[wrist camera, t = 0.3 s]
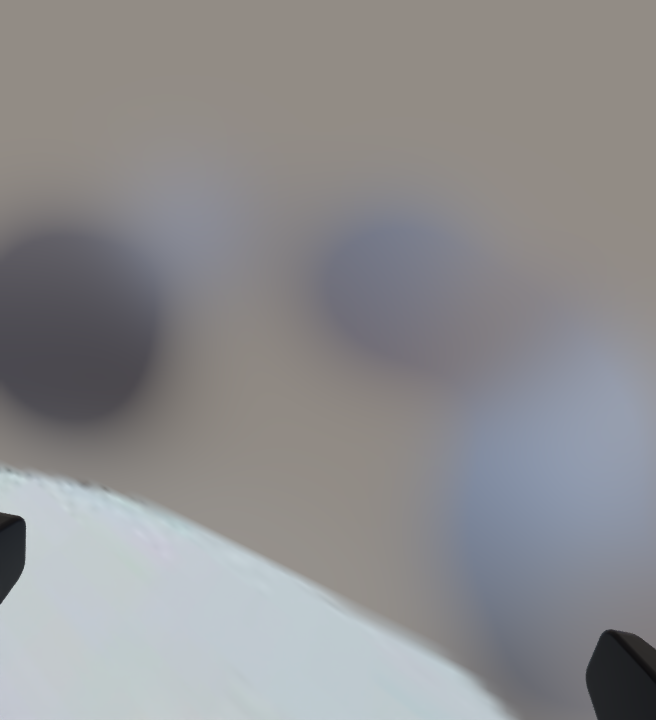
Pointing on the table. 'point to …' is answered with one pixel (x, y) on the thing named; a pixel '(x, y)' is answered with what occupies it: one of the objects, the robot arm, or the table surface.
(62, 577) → the table surface
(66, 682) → the table surface
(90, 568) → the table surface
